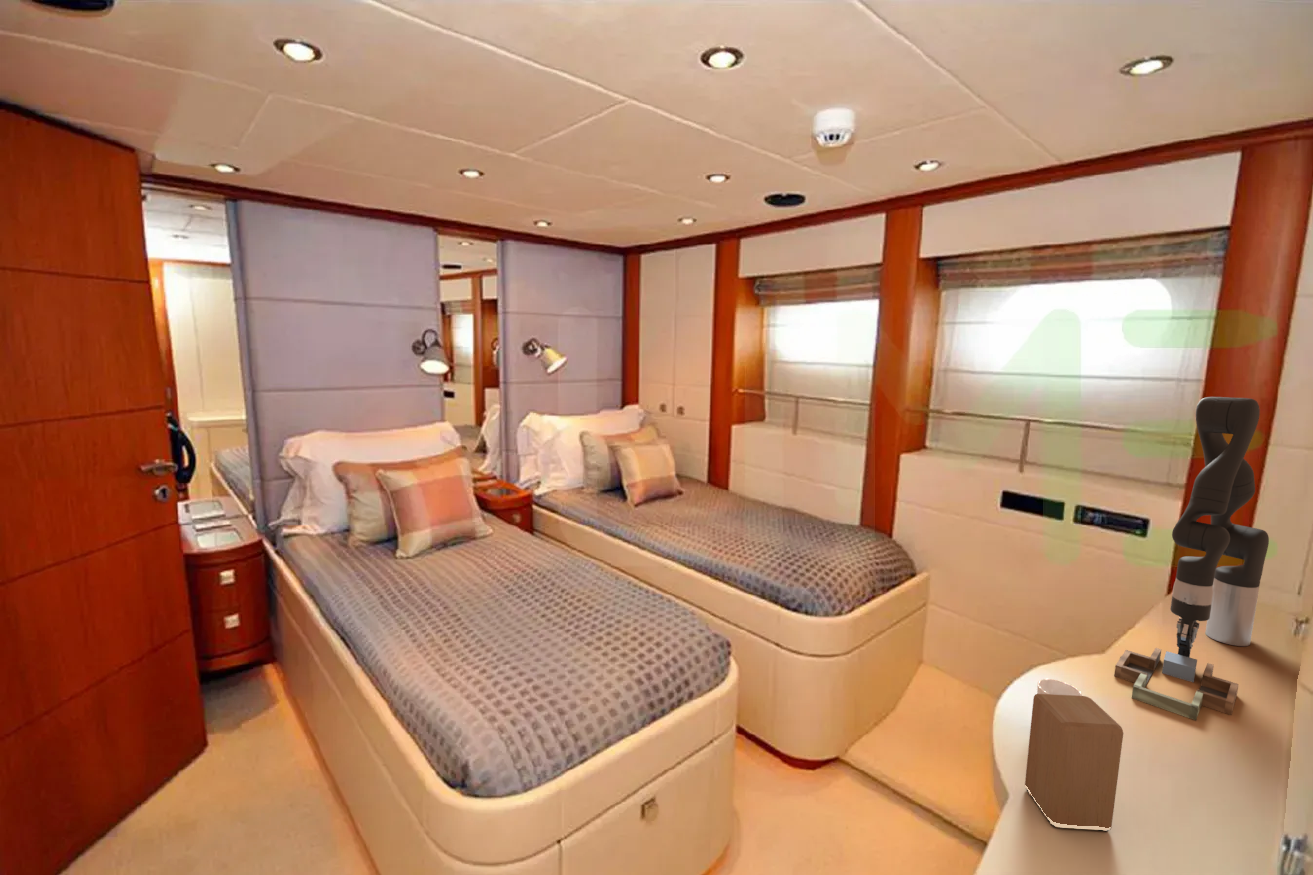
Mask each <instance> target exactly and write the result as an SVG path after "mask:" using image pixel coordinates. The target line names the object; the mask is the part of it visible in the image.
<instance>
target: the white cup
mask: <svg viewBox="0 0 1313 875" xmlns="http://www.w3.org/2000/svg"><path fill="white" fill-rule="evenodd" d="M1036 690H1037V692H1036V694H1055V695H1075V696H1083V693H1081V690H1079V689H1078V688H1077V687H1075V686H1073V685H1072V684H1070V683H1067V682H1064V681H1061V680H1058V679H1052V678H1045V679H1044V678H1043V679H1041V680H1038V682H1037V689H1036Z"/></svg>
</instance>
